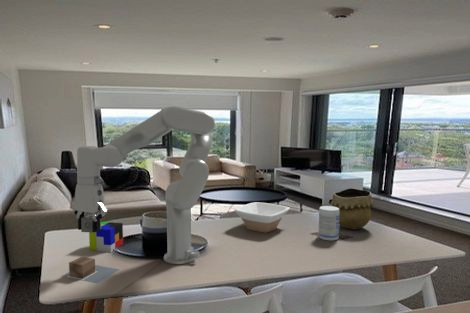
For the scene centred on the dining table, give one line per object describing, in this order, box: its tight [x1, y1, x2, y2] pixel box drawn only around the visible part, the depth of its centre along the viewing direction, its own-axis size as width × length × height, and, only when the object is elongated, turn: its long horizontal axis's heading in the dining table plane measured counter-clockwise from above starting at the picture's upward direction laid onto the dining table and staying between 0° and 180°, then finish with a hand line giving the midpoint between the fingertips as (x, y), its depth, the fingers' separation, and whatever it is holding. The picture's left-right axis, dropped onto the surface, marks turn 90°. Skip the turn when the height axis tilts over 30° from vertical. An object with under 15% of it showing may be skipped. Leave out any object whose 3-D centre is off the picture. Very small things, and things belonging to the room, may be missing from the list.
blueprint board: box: [60, 264, 121, 284], centre depth 125 cm, size 16×12×1 cm
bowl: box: [233, 201, 290, 234], centre depth 181 cm, size 24×25×11 cm
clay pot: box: [330, 187, 375, 230], centre depth 180 cm, size 21×21×20 cm
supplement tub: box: [318, 205, 340, 242], centre depth 165 cm, size 10×10×15 cm
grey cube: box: [81, 214, 102, 233], centre depth 126 cm, size 5×5×5 cm
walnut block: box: [68, 256, 96, 279], centre depth 124 cm, size 6×6×5 cm
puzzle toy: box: [88, 221, 124, 254], centre depth 152 cm, size 10×10×10 cm
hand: (89, 229), depth 125 cm, fingers closed on grey cube, 5 cm apart
